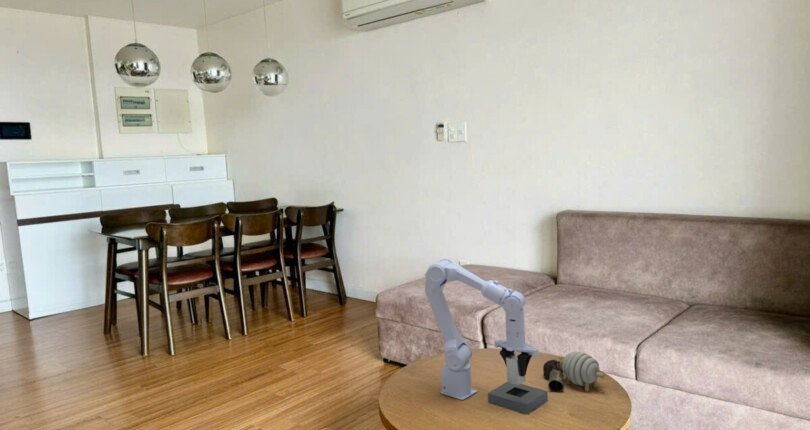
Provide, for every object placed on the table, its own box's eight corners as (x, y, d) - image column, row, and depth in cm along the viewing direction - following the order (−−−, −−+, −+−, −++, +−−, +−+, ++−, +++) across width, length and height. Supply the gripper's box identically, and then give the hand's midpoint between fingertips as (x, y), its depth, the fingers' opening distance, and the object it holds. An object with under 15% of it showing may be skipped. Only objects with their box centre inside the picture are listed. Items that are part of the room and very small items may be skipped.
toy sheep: (569, 374, 194) (568, 343, 192) (614, 388, 181) (614, 355, 179) (551, 384, 187) (550, 351, 186) (596, 399, 174) (595, 364, 173)
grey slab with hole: (488, 402, 176) (487, 393, 176) (509, 389, 185) (509, 380, 184) (527, 414, 166) (527, 404, 166) (547, 400, 175) (547, 391, 175)
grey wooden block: (507, 382, 174) (505, 357, 173) (514, 377, 177) (513, 353, 176) (518, 385, 172) (517, 360, 171) (525, 380, 174) (524, 355, 173)
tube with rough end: (563, 393, 180) (563, 376, 179) (542, 392, 182) (541, 375, 181) (564, 371, 197) (563, 356, 196) (544, 371, 199) (543, 355, 198)
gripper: (488, 330, 175) (490, 372, 177) (529, 339, 165) (530, 383, 167) (501, 324, 180) (502, 365, 182) (541, 332, 170) (542, 375, 172)
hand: (516, 373), depth 174 cm, fingers closed on grey wooden block, 4 cm apart
